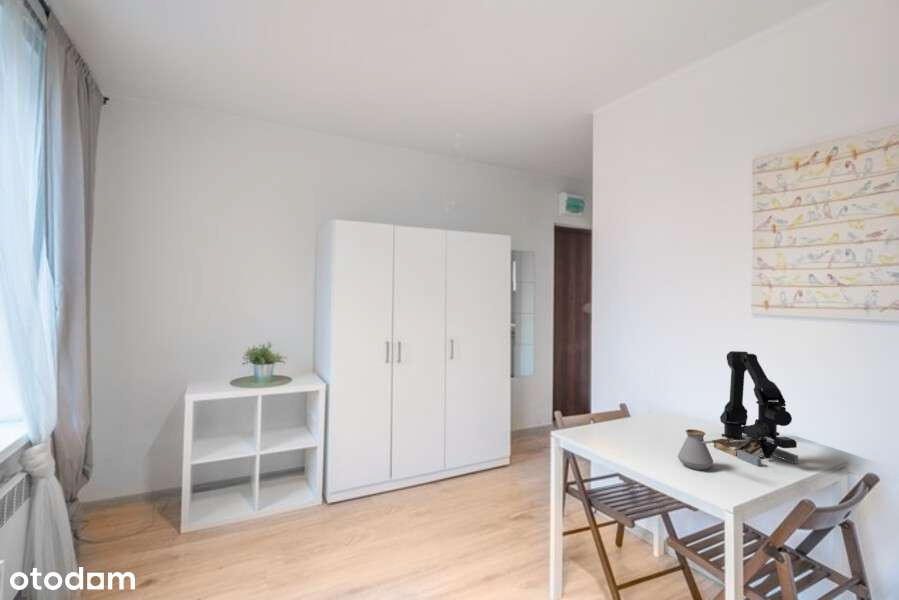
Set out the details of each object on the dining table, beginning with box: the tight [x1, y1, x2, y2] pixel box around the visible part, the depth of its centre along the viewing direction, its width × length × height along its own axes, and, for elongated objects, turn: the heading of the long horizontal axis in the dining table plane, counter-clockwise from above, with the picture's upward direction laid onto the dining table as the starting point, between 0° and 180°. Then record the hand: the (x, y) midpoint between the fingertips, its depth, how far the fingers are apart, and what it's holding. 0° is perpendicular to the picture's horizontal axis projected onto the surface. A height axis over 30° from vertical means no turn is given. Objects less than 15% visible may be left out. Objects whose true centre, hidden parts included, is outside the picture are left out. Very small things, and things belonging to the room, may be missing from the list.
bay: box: [736, 447, 799, 467], centre depth 163 cm, size 9×18×3 cm, turn 100°
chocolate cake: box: [734, 437, 765, 458], centre depth 168 cm, size 10×7×12 cm
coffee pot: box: [677, 428, 738, 471], centre depth 152 cm, size 21×12×15 cm, turn 19°
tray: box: [713, 439, 748, 458], centre depth 173 cm, size 11×17×2 cm, turn 100°
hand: (767, 458), depth 163 cm, fingers closed
